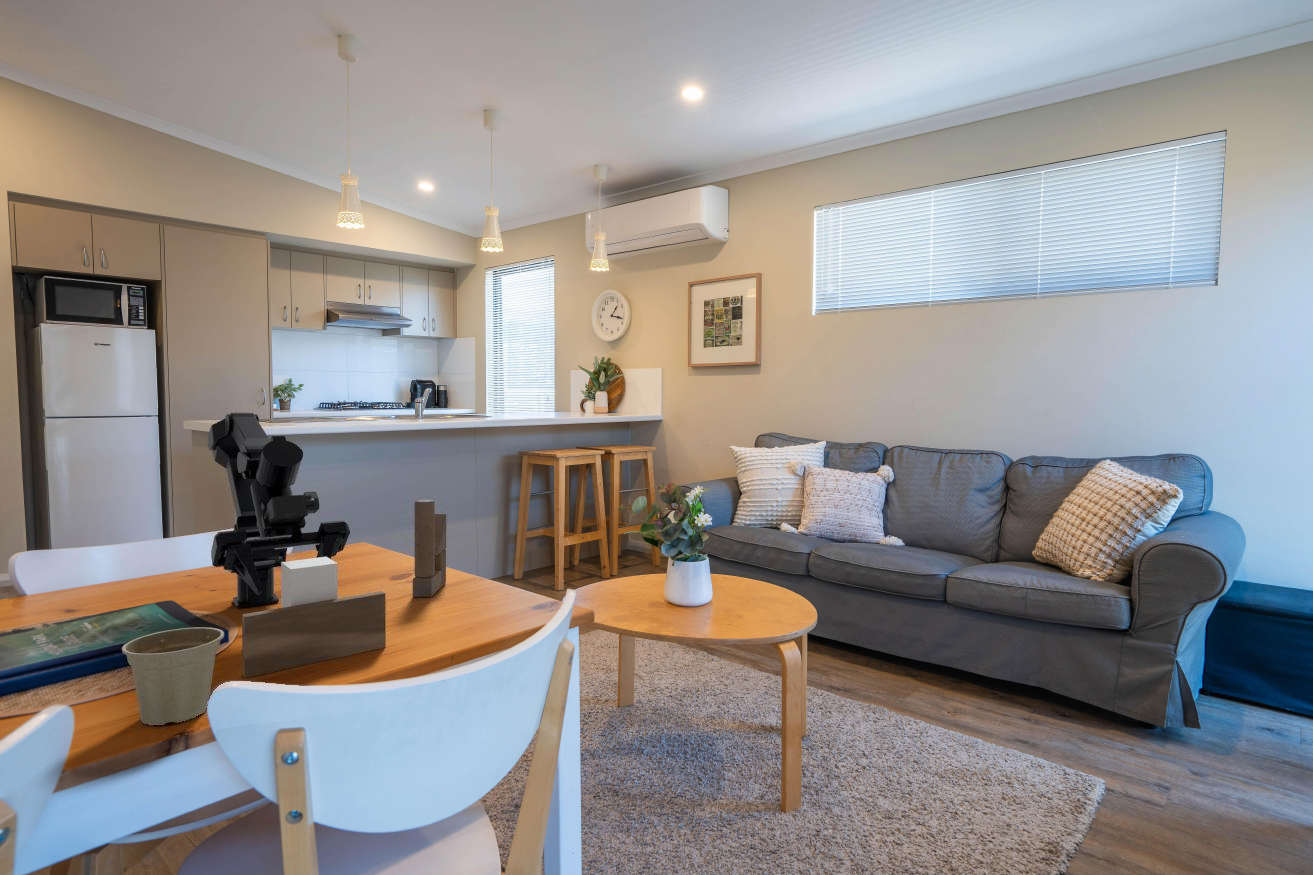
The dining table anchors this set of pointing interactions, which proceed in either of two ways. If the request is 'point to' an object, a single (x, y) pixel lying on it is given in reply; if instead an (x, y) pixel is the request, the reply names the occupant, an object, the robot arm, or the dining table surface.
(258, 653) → the wall board
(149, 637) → the flower pot
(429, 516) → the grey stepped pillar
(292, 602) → the white notched pillar
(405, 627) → the dining table surface
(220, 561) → the robot arm
